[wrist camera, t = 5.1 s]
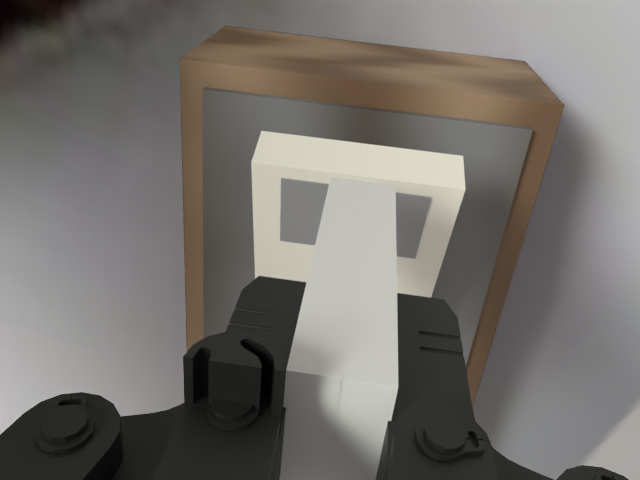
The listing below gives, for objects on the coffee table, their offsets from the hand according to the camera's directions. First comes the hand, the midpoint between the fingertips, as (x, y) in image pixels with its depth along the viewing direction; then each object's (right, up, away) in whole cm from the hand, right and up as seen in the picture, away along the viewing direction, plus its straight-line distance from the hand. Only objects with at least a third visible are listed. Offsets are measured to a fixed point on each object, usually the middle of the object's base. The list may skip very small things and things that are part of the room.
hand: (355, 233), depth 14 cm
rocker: (0, -1, +5) cm, 5 cm away
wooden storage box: (0, -6, +17) cm, 18 cm away
